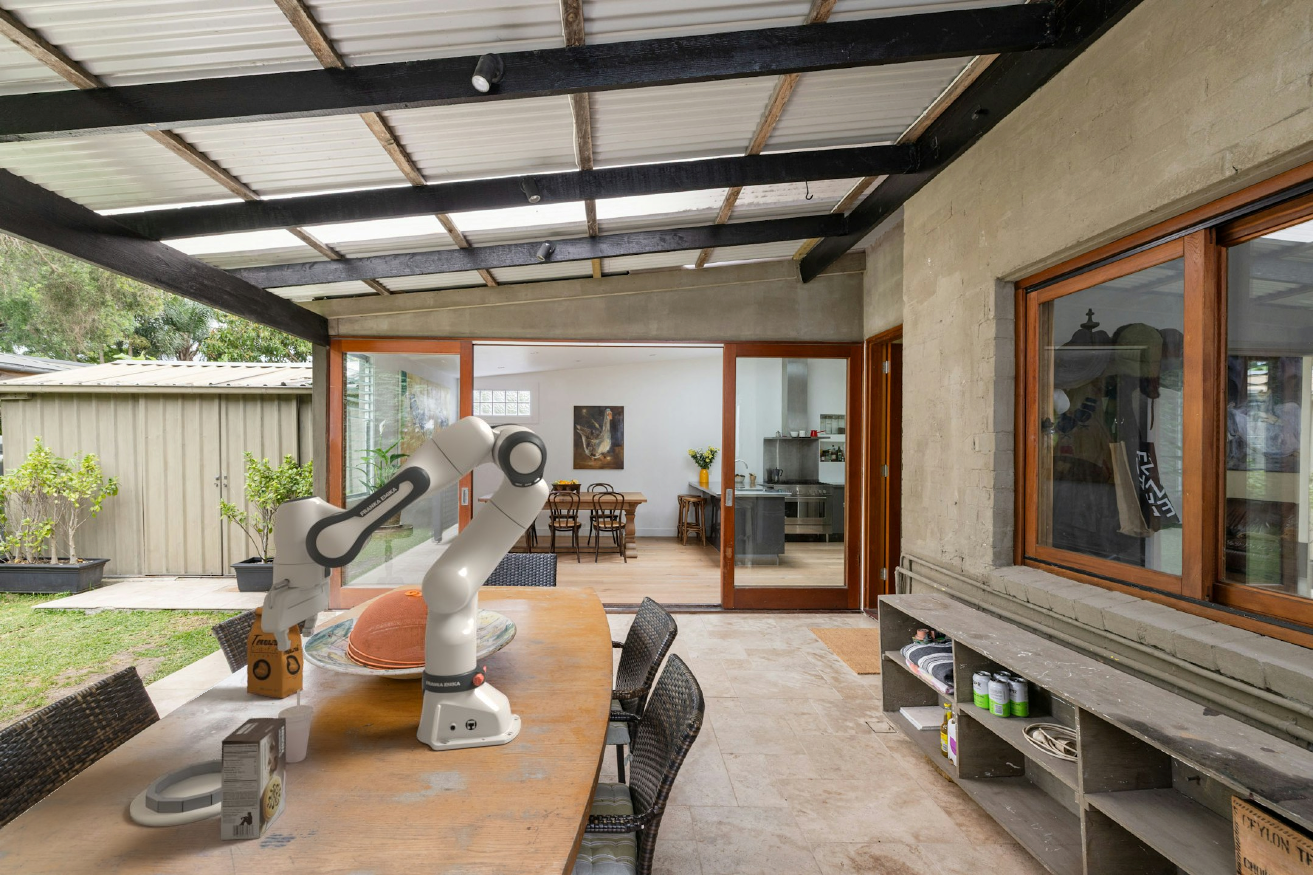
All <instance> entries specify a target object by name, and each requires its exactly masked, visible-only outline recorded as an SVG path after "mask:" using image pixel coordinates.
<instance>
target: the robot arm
mask: <svg viewBox="0 0 1313 875" xmlns="http://www.w3.org/2000/svg"><path fill="white" fill-rule="evenodd" d="M545 444H546V443H545V442H544V441H543V439H542V438H541V437H540V436H538V435H537V434H536V433H535V432H534V431H533V430H532V429H530V428H528V427H526V426H523V425H520V424H516V423H502V424H497V425H489V424H488V422H486V421H485V420H483V419H482V418H480V417H478V416H475V415H468V416H465V417H463V418H460V419H458V420H457V421H455V422H453V423H451V424H449V425H447V426H446V427H444V428H442V429H441V430H439V431H438V432H436V433H435V434H434V435H432V436H431V437H429V439H428V438H427V440H426V441H424V442H423V443H422V444H421V445H420V446H419V447H418V448H417V449H416V450H414V452H413V453H412V454H411V455H410V456H409V457H408V458H407V459H406V461H405V462H403V464H402V465H401V466H400V467H399V469H398V470H397V471H396V472H395V473H394V474H393V476H392V477H391V478H390V479H389V480H388V481H386V482H385V483H384V484H383V485H382V486H380V487H379V488H378V489H377V490H375V491H374V492H372V493H371V494H370V495H368V496H367V497H366V498H364V499H363V500H362V501H360V502H359V503H358V504H355V505H354V506H353V507H351V508H349V509H345V508H341V507H338V506H336V505H333V504H331V503H329V502H327V501H326V500H324V499H322V498H321V497H320V496H317V495H306V496H301V497H300V496H299V497H295V498H290V499H287V500H285V501H283V502H281V503H280V504H279V505H278V507H277V509H276V510H277V511H276V513H275V518H274V520H275V521H274V528H273V543H274V546H275V555H274V558H273V561H272V562H273V564H272V565H273V567H272V568H273V569H272V570H273V571H272V572H273V573H272V585H271V588H270V589H269V591H268V592H267V593H266V595H264V596H265V597H264V599H263V603H262V607H263V609H262V619H261V628H262V630H263V632H266V633H274V636H275V638H276V640H277V642H278V650H279V651H286V650H288V649H289V648H290V647H291V645H290V644H291V640H288V636H287V633H288V632H289V628H290V627H292V626H294V625H295V624H297V625H298V624H300V623H301V622H303V621H305V622H304V627H303V628H302V629H301V630H302V632H301V633H302V634H301V637H303V638H311V637H313V636H314V634H315V627H316V624H317V621H318V618H319V617H318V615H319V613H321V612H323V611H325V610H327V609H328V606H329V604H330V596H331V595H330V592H331V580H330V578H331V577H332V575H333V569H338V568H342V567H345V566H347V565H349V564H350V563H351V562H353V561H354V560H355V559H356V558H357V557H358V555H359V554H360V553H361V552H363V550H365V549H366V547H367V546H368V545H369V543H370V541H371V539H372V536H373V534H374V533H375V532H376V531H377V530H378V529H380V528H381V527H382V526H384V525H385V524H387V522H389V521H390V520H391V519H393V518H394V517H395V516H398V514H399V513H401V512H402V511H403V510H405V509H407V508H408V507H410V506H411V505H413V504H415V503H417V502H420V501H423V500H424V499H426V498H430V497H431V496H434V495H436V494H438V493H440V492H441V493H442V491H444V490H446V489H448V488H450V487H451V486H453V485H454V484H456V483H457V482H459V481H460V480H462V479H463V478H464V477H465V476H467V475H468V474H470V473H471V471H473V470H474V469H475V468H477V467H479V466H481V465H483V464H488V463H492V464H494V465H495V466H496V467H497V468H498V469H500V470H501V471H502V472H503V479H502V481H501V484H500V486H499V488H498V489H497V490H496V491H495V492H494V493H493V495H491V496H490V498H488V500H487V501H486V502H485V503H484V505H483V506H482V507H481V508H480V509H479V510H478V512H477V513H476V514H475V515H474V516H473V517H472V519H471V520H470V521H469V522H468V524H467V525H466V526H464V528H463V529H462V530H461V531H460V533H459V534H458V535H457V536H456V537H455V539H454V540H453V541H452V542H451V544H450V545H448V547H447V548H446V549H445V550H444V551H443V553H442V554H441V555H440V556H439V557H438V559H436V561H435V562H434V563H433V564H432V565H431V567H430V568H429V569H428V570H427V571H426V573H425V574H424V576H423V579H422V583H421V596H422V598H423V601H424V602H425V604H426V605H427V606H428V611H427V612H428V614H427V613H426V616H427V617H426V627H425V631H424V632H425V633H424V634H425V635H424V638H425V639H424V669H423V670H422V676H421V677H422V678H421V690H422V696H423V703H422V709H421V714H420V715H421V716H420V721H419V724H418V725H419V726H418V728H417V731H416V738H417V739H418V740H419V742H421V743H423V744H427V745H429V746H430V747H431V748H432V750H434V751H443V750H444V751H445V750H455V749H463V748H465V749H466V748H474V747H475V748H476V747H484V746H485V747H486V746H496V745H505V744H507V743H509V742H511V741H512V740H514V739H515V737H517V735H518V734H519V733H520V731H521V727H522V720H521V718H520V716H519V715H518V714H516V713H514V714H513V713H512V711H511V704H510V701H509V699H508V696H506V695H505V694H504V693H502V692H501V691H500V690H498V689H497V688H495V687H494V686H493V685H491V684H489V683H488V682H486V672H487V666H483V668H482V667H481V666H479V664H477V647H478V646H477V644H478V643H477V642H478V641H477V640H478V639H477V636H478V635H477V630H478V611H479V610H478V609H479V590H480V589H481V588H482V587H483V585H484V584H485V583H486V581H487V580H488V578H489V577H490V576H491V574H492V573H493V572H494V571H495V569H496V568H497V567H498V565H499V564H500V563H501V562H502V560H503V559H504V558H505V556H506V555H507V554H508V553H509V551H511V549H512V548H513V547H514V546H515V545H516V543H517V542H518V541H519V540H520V538H521V537H522V536H523V535H524V534H525V533H526V531H527V530H528V529H529V528H530V526H531V525H532V524H533V522H534V521H535V520H536V518H537V517H538V515H539V514H540V512H542V511H541V510H542V509H543V508H544V506H545V504H546V502H547V500H548V499H549V495H550V490H549V486H548V484H547V482H546V481H545V479H543V477H544V472H545V467H546V463H547V459H548V452H547V447H546V445H545ZM427 606H426V607H427Z"/></svg>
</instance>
